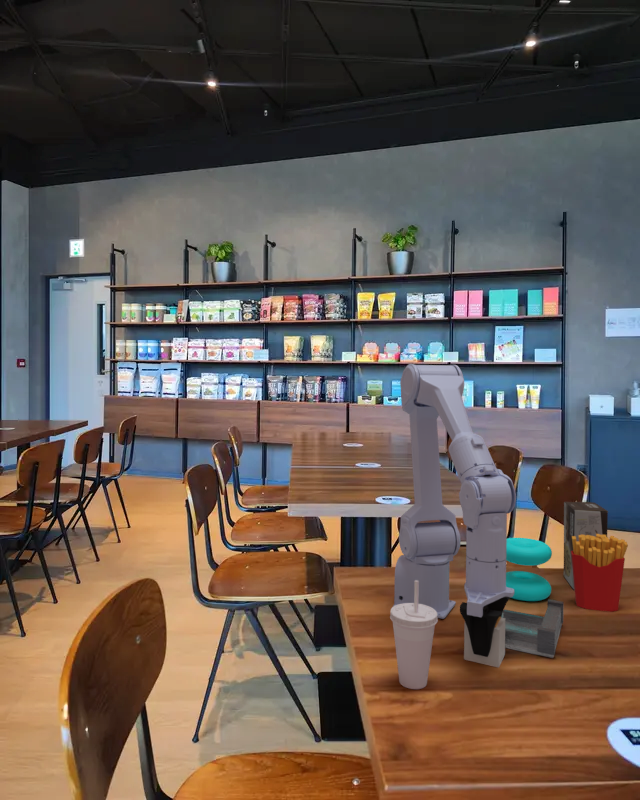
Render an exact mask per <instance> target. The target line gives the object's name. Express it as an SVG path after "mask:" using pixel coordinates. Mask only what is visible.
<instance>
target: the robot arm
mask: <svg viewBox="0 0 640 800" xmlns="http://www.w3.org/2000/svg"><path fill="white" fill-rule="evenodd" d="M464 390H465V379H464V375H463V371H462V370H461V368H460V367H459V366H458V365H456V364H449V365H447V364H446V365H443V364H442V365H440V364H439V365H437V364H436V365H435V364H434V365H432V364H430V365H429V364H413V363H409V364H407V365H406V366H405V368H404V369H403V371H402V374H401V378H400V397H401V398H400V400H401V401H400V403H401V406H402V407H401V409H402V411H404V412H405V413H406V414H407V415H409V430H410V447H411V461H412V479H413V495H414V497H413V498H414V504H413V505H412V506H411V507H409V509H408V510H407V511H405V512H404V513H403V514H402V515H401V516H400V528H399V534H398V544H399V549H400V551H401V553H402V555H399V557H398V558H397V560H396V563H395V568H394V596H393V597H394V598H393V599H394V603H393V605H392V607H394V606H395V605H398V604H403V603H414V584H415V580H418V581H419V599H418V604H423V605H427V606H429V607H431V608H433V609H434V610H436V612H437V619H445V618H447V616H448V615H449V613H450V612H451V610H452V609H454V607H455V606H456V603H457V602H456V600H450V562H453V561H454V556H456V555H457V554H458V553H459V550H460V547H461V533H460V531H459V528H458V524H457V518H456V515H455V513H454V512H453V511H452V510H450V509H448V507H446V506H444V504H443V494H442V493H443V491H442V477H441V464H440V463H441V462H440V461H441V459H440V447H439V446H440V445H439V435H438V431H439V430H438V418H439V419H441V422H442V423H443V426H444V428H445V430H446V431H447V433H448V435H449V437H450V439H451V442H450V445H449V446H448V452H449V456H450V458H451V461H452V463H453V466H454V469H455V471H456V474H457V476H458V479H459V481H460V484H461V485H460V491H459V492H458V499H459V503H460V507H461V510H462V521H463V525H465V526H466V528H465V529H466V537H465V539H466V543H465V544H466V545H465V547H466V548H465V549H466V550H465V555H466V556H465V557H466V558H465V583H464V584H463V585H464V593H465V596H466V598H467V600H466V601H465V602H464V601H462V602H461V604H460V605H459V613H460V615H461V617H462V619H463V620H464V624H465V623H466V625H467V628H468V632H469V636H470V641H471V646H472V650H473V653H474V654H476V655H480V656H485V657H488V655H489V652H490V649H491V643H492V637H493V632H494V628H495V625H496V622H497V620H498V618H499V617H502V613H503V611H504V609H505V607H506V604H507V603H508V602H509V601H510V599H511V598H510V597H513V595H514V589H513V588H508V587H506V572H507V560H506V544H507V537H508V536H507V535H508V534H507V533H508V532H507V531H508V525H507V524H508V514H510V513H512V511H514V509H515V506H516V502H517V500H516V499H517V494H516V489H515V485H514V483H513V480H512V479H511V478H510V476H508V475H507V474H504V472H503V470H502V469H499V468H497V466H496V464H495V462H494V459H493V458H492V455H491V453H490V451H489V448H488V446H487V443H486V442H485V439H484V437H483V436H482V435H479V434H477V433H475V432H474V431H473V428H472V426H471V422H470V419H469V416H468V413H467V410H466V406H465V403H464V400H463V394H464ZM424 521H425V522H424ZM426 521H427V522H426ZM428 521H430V522H428Z"/></svg>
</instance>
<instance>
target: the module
mask: <svg viewBox="0 0 640 800" xmlns="http://www.w3.org/2000/svg"><path fill="white" fill-rule="evenodd" d="M463 638H464V639H463V643H464V644H463V645H464V647H463V648H464V649H463V650H464V651H463V660H464V661H465V660H466V661H470V662H474V663H478V664H482V665H486V666H491V667H494V668H500V666H501V664H502V663H503V660H504V657H505V655H506V648H505V618H501V617H499V618H498V620H497V622H496V625H495V628H494V632H493V637H492V643H491V649H490V652H489V655H488V657H485V656H480V655H476V654H474V653H473V650H472V646H471V641H470V636H469V632H468V628H467V625H466V623H465V622H464V634H463Z"/></svg>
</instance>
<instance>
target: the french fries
mask: <svg viewBox="0 0 640 800" xmlns="http://www.w3.org/2000/svg"><path fill="white" fill-rule="evenodd" d="M572 543H573V551H571V557H572V568H573V579H574V589H573V591H574V599H575V604H576V606H577V607H579V608H582V609H585V610H592V611H601V612H610V613H611V612H616V611H619V605H620V598H621V591H622V590H621V589H622V584H623V575H624V569H625V568H624V567H625V561H626V558H625V555H626V552H627V548H628V546H629V545H628V542H627V541H626V540H625V539H622V538H621V539H619V538H618V537H615V536H614V535H610V536H609V537H608V536H607V537H606V535H600V534H596V537H595V536H590V535H586V536H585V535H582V534H581V535H579V541H576V536H572Z"/></svg>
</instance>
